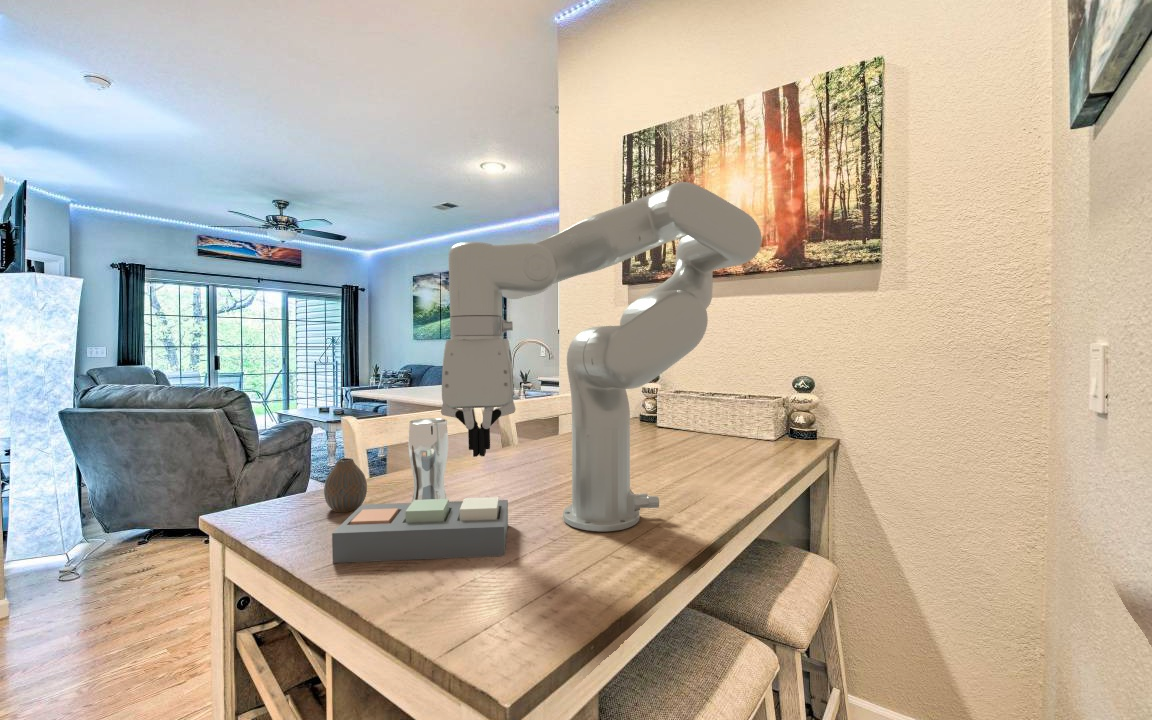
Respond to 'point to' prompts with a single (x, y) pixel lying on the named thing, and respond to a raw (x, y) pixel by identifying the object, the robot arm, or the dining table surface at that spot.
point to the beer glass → (428, 457)
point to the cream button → (479, 509)
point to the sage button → (428, 510)
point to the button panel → (419, 537)
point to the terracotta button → (375, 516)
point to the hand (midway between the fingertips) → (479, 454)
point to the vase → (345, 486)
